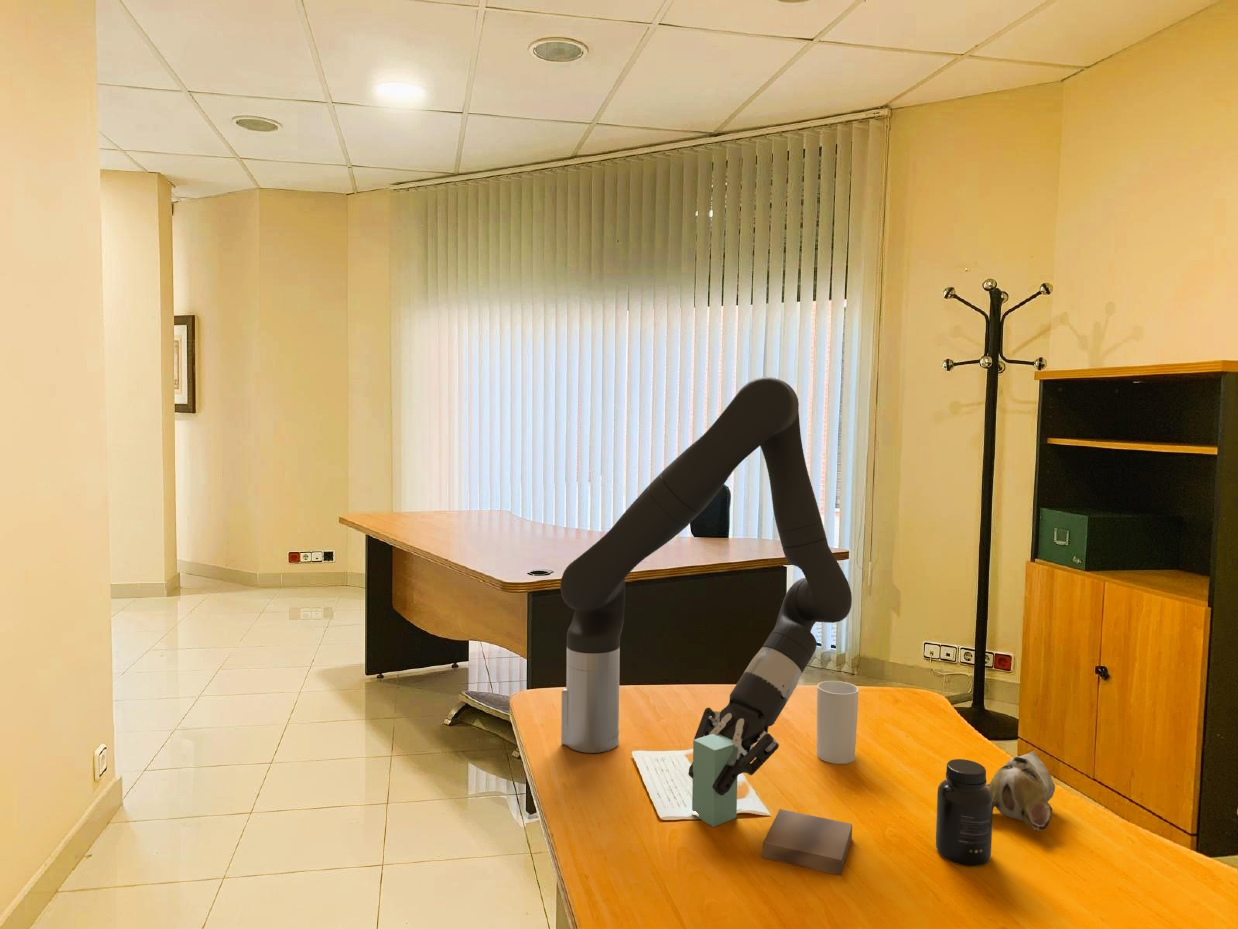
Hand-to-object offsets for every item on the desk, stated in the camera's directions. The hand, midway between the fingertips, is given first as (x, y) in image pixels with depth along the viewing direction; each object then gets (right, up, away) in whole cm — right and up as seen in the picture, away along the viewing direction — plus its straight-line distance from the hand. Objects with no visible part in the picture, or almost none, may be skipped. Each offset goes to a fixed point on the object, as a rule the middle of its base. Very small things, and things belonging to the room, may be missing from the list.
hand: (705, 784), depth 117 cm
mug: (+25, -4, +24) cm, 35 cm away
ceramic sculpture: (+46, -6, +3) cm, 46 cm away
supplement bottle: (+33, -6, -8) cm, 35 cm away
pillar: (+1, -5, +2) cm, 6 cm away
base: (+13, -6, -7) cm, 16 cm away
